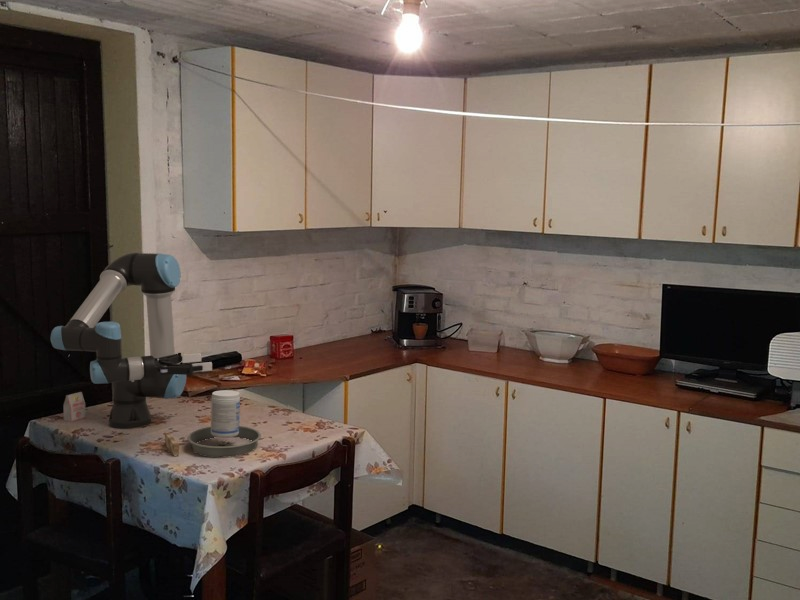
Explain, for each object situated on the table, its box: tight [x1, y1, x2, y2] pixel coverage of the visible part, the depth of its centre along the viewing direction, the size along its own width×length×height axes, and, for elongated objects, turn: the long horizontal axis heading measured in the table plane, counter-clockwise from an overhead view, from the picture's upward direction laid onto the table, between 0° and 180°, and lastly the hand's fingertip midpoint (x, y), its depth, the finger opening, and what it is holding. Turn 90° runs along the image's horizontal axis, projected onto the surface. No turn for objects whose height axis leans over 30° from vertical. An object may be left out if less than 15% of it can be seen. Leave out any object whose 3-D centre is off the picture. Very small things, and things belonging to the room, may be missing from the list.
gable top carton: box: [62, 391, 87, 423], centre depth 293 cm, size 4×7×10 cm, turn 151°
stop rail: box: [164, 432, 180, 457], centre depth 261 cm, size 14×2×4 cm, turn 29°
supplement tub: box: [210, 389, 241, 439], centre depth 265 cm, size 10×10×15 cm
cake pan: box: [187, 425, 262, 458], centre depth 266 cm, size 25×25×4 cm
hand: (206, 361), depth 262 cm, fingers open, 13 cm apart
